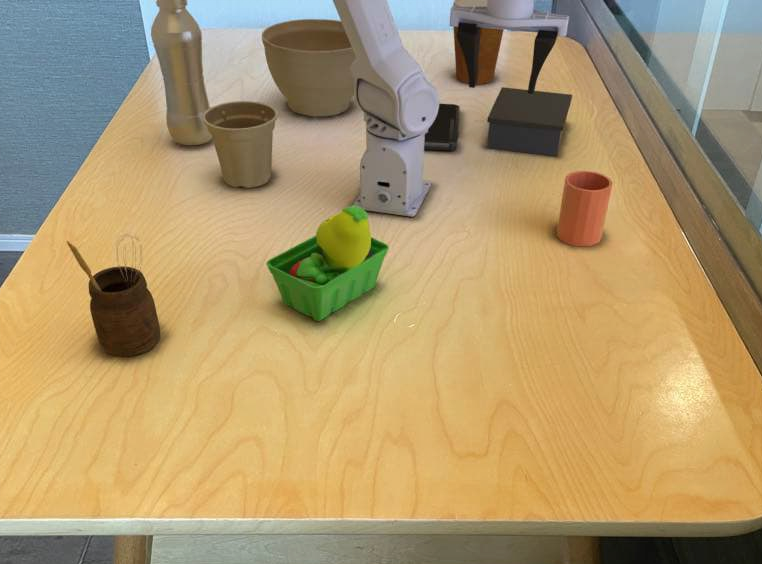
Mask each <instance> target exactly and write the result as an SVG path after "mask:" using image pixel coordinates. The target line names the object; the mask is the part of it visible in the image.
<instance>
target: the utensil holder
mask: <svg viewBox="0 0 762 564" xmlns="http://www.w3.org/2000/svg"><path fill="white" fill-rule="evenodd" d="M129 237H130V238H131V240H132V242H131V243H132V244H131V245H132V246H133V248H136V245H135V242H134V240H133V239H134V238H135V239H136V241H138V243H139V251H140V255H139V256H140V257H139V262H140V263H139V264H138V268H137V263H135V265H134V262H131V263H132V264H131V266H126V263H127V245H125V247H124V253H122V257H123V258H122V259H123V260H124V261H123V265H124V266H122V265H121V266H120V264H119V258H116V259H117V260H116V262H117V265H118V266H112V267H107V268H105V269H102V270H100V271H98V272H96V273H95V274H92V270H91V269H90V267H89V265H88V264H87V262H86V261H85V259H84V258H83V256H82V254H81V253H80V251H79V250H78V248H77V247H76V246H75V245H73V244H72V243H70V241H69V240H67V241H66V244H67V246H68V247H69V249H70V251H71V253H72V254H73V256H74V258H75V260H76V262H77V264H78V265H79V266H80V268H81V269H82V270H83V271H84V273H85V274H86V275H87V277H88V279H89V281H88V295H89V297H90V301H89V310H90V311H89V312H90V315H91V320H92V323H93V327H94V329H95V331H94V332H95V334H96V337H97V340H98V343H99V345H100V346H101V348H102V349H103V351H105V352H106V353H107V354H109V355H113V356H116V357H133V356H138V355H141V354H144V353H146V352H148V351H150V350H151V349H152V348H154V347H155V346H156V345H157V343H158V342H159V340H160V337H161V328H160V327H161V326H160V323H159V317H158V311H157V309H156V304H155V300H154V297H153V294H152V293H151V291H150V290H149V288H148V282H147V280H146V278H145V276H144V273H143V272H142V271H141V269H142V265H143V262H142V254H143V249H142V244H141V240H140V239H139V236H136V235H135V234H131V233H129V234H128V233H124V234H122V235H121V236H119V237H118V238H117V240H116V243H117V246H116V248H115V249H116V257H119V249H118V246H119V245H120V242H121V241H122V240H124V238H126V240H125V243H127V242H128V239H129ZM121 238H122V239H121ZM119 239H120V240H119ZM124 254H125V255H124ZM124 256H125V257H124ZM134 256H135V257H134V258H135V259H134V260H135V262H137V251H136V249H134Z"/></svg>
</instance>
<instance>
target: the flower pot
mask: <svg viewBox="0 0 762 564" xmlns="http://www.w3.org/2000/svg"><path fill="white" fill-rule="evenodd" d="M278 116H279V112H278V110H277V108H275V107H274V106H272V105H270V104H267V103H264V102H260V101H253V100H236V101H228V102H223V103H219V104H216V105H214V106H210V108H209V109H208V110H206V111H205V112H204V113H203V116H202V119H203V122H204V123H205V124H206V125H207V128H208V131H209V133H210V134H211V135H212V139H211V140H212V142H213V145H214V149H215V153H216V156H217V160H218V163H219V166H220V170H221V174H222V177H223V181H224V183H226V184H227V185H229V186H231V187H234V188H238V187H243V188H247V189H253V188H258V187H260V186H263V185H265V184H266V183H268V182H269V181H270V178H271V177H272V161H273V141H274V140H273V137H274V130H275V127H276V121H277V119H278Z"/></svg>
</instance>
